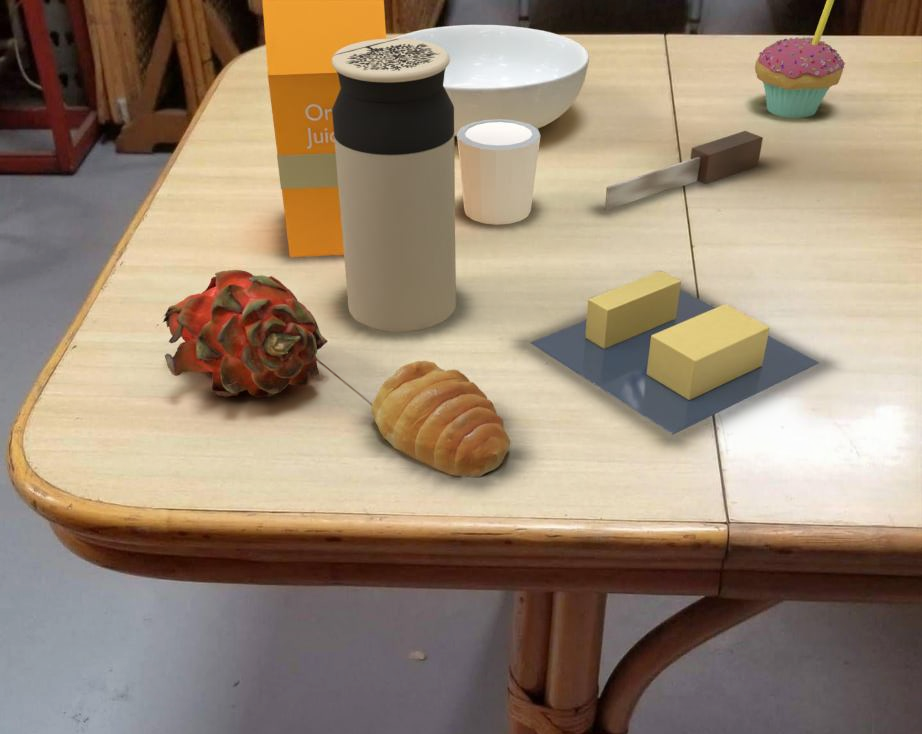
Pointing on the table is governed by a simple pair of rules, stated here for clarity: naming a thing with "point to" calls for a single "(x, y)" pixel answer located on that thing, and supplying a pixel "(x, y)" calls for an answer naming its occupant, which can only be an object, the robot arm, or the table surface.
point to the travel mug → (396, 182)
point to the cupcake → (799, 72)
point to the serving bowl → (508, 72)
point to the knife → (692, 168)
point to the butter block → (707, 351)
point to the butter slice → (632, 309)
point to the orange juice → (311, 109)
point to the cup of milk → (498, 169)
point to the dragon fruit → (245, 335)
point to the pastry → (440, 420)
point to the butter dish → (630, 384)
